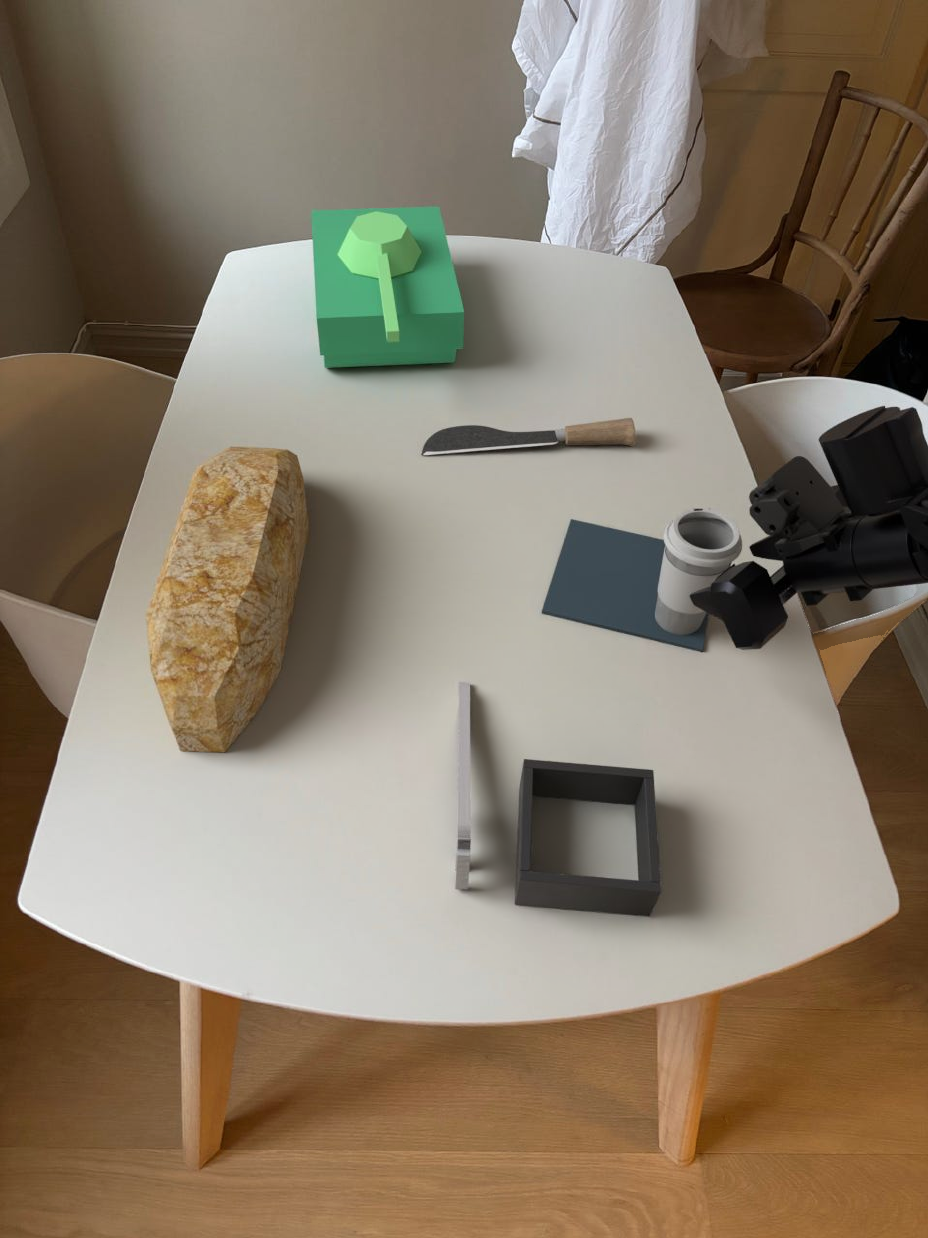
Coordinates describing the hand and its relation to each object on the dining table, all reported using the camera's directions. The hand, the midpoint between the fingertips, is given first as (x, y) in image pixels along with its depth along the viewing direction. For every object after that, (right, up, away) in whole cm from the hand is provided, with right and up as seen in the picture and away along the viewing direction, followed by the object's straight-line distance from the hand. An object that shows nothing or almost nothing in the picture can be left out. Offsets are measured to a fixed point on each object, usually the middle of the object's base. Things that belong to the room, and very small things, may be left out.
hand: (722, 574), depth 85 cm
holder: (-14, -23, -9) cm, 28 cm away
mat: (-6, 0, +11) cm, 13 cm away
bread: (-46, -2, +8) cm, 47 cm away
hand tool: (-16, +17, +26) cm, 35 cm away
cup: (-2, -4, +8) cm, 9 cm away
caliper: (-24, -18, -5) cm, 30 cm away
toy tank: (-34, +34, +39) cm, 62 cm away
